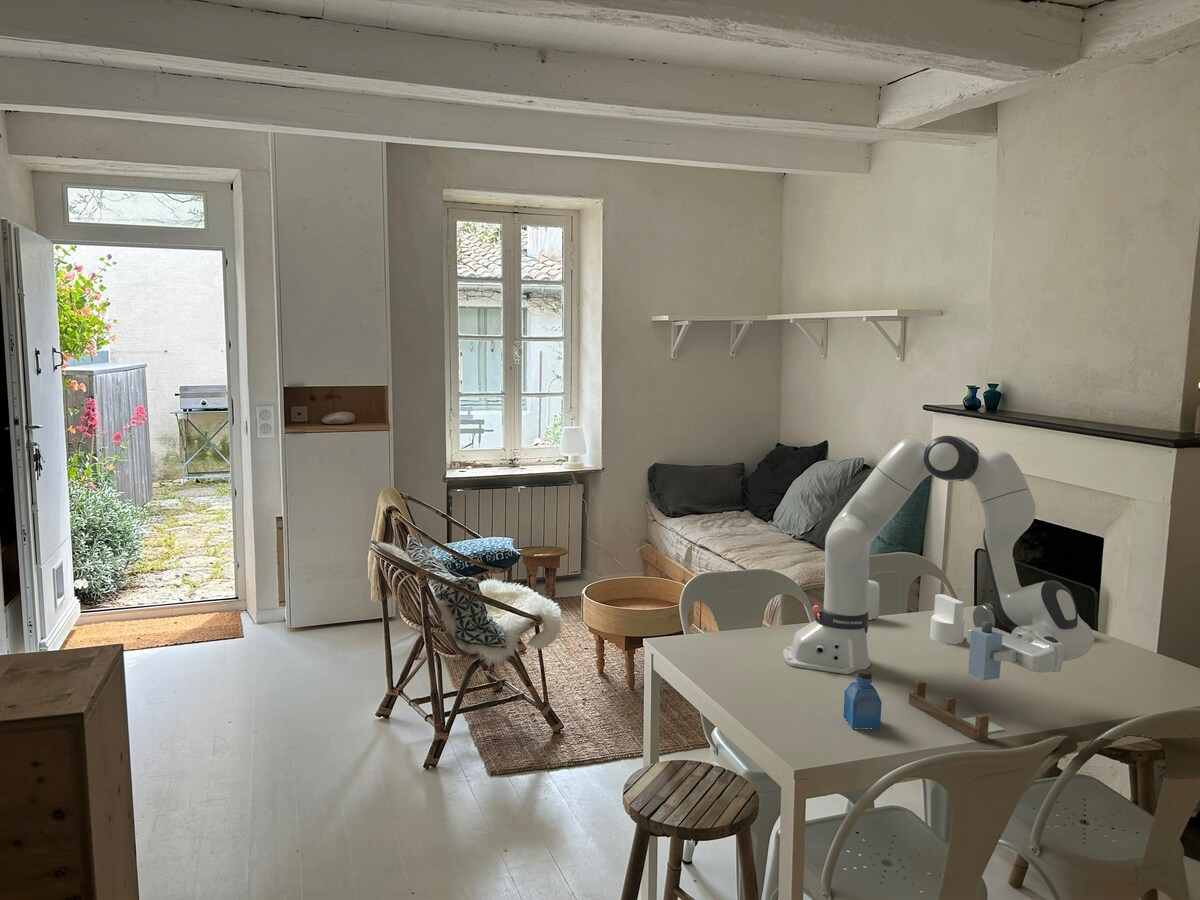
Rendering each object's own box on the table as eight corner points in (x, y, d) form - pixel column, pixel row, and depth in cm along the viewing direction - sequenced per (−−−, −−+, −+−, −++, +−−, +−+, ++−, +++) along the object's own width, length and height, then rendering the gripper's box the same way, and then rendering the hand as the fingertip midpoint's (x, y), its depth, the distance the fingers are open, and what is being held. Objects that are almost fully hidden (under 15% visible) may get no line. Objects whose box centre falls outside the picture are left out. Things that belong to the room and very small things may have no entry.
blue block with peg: (983, 680, 192) (987, 626, 191) (968, 673, 196) (971, 620, 195) (999, 678, 194) (1003, 624, 192) (983, 670, 198) (987, 618, 196)
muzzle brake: (1073, 637, 259) (1076, 603, 258) (991, 643, 252) (993, 608, 251) (1049, 627, 268) (1052, 594, 267) (969, 633, 261) (972, 598, 260)
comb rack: (974, 740, 189) (975, 718, 188) (908, 703, 208) (909, 682, 207) (1010, 733, 192) (1012, 711, 192) (943, 697, 211) (944, 677, 211)
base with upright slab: (923, 635, 258) (925, 595, 256) (949, 632, 261) (951, 593, 259) (943, 645, 249) (946, 604, 248) (970, 642, 252) (973, 602, 251)
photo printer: (847, 621, 269) (850, 581, 268) (842, 617, 274) (844, 578, 272) (880, 621, 271) (882, 581, 269) (874, 616, 275) (877, 577, 273)
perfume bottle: (870, 717, 199) (873, 666, 198) (880, 729, 193) (883, 676, 192) (843, 717, 199) (846, 666, 198) (852, 729, 193) (855, 676, 192)
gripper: (995, 618, 208) (948, 623, 203) (1069, 646, 189) (1019, 653, 184) (993, 644, 209) (947, 650, 204) (1066, 674, 190) (1017, 682, 185)
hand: (982, 651), depth 194 cm, fingers closed on blue block with peg, 4 cm apart
